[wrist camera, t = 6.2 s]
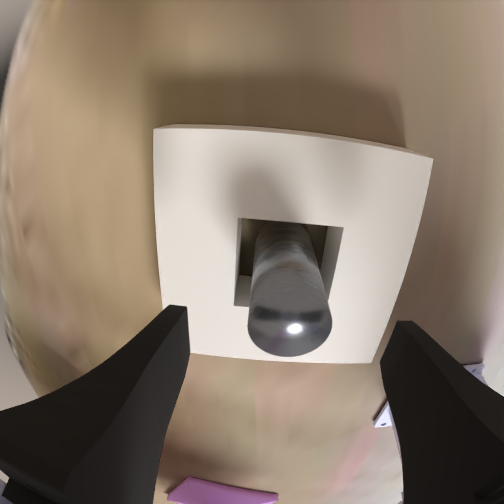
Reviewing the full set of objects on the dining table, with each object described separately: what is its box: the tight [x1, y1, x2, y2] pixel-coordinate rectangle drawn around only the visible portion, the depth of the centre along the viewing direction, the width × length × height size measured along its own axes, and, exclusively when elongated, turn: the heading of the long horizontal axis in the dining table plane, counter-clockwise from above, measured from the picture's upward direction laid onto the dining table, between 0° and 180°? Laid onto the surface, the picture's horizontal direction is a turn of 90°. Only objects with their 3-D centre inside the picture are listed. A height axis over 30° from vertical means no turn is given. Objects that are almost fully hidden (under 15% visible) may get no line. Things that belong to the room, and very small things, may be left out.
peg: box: [247, 220, 332, 357], centre depth 14 cm, size 3×3×7 cm
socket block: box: [153, 124, 433, 363], centre depth 15 cm, size 12×12×3 cm
